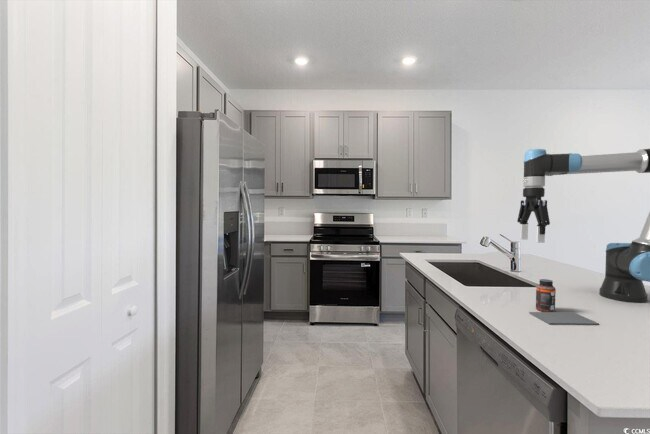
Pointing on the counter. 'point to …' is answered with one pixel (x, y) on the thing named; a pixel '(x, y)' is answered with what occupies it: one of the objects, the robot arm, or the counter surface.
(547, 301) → the supplement bottle
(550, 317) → the mat
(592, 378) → the counter surface
